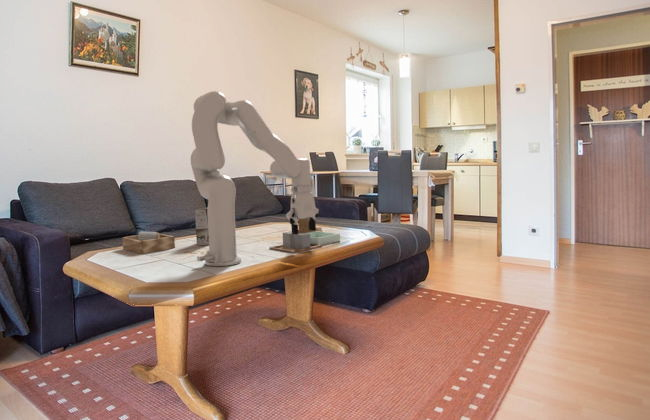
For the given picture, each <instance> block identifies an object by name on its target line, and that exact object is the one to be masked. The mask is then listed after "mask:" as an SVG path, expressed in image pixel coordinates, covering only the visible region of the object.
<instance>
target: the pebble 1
mask: <svg viewBox="0 0 650 420" xmlns="http://www.w3.org/2000/svg"><path fill="white" fill-rule="evenodd" d="M282 245H283V247H285V248H294V247H295V234H292V230H291V231H284V232H282Z"/></svg>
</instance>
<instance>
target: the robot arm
mask: <svg viewBox="0 0 650 420" xmlns="http://www.w3.org/2000/svg"><path fill="white" fill-rule="evenodd" d="M193 111H194V112H193V115H192V118H191V131H192V136H193V137H192V138H193V141H194V142H193V143H194V146H195V148H194V149H193V150H192V152H191V154H190V165H191V169H192V173H193V176H194V181H195V183H196V184H195V185H196V186H197V189H198V192H199V194H200V196H201V197H203V198H204V199H206V200H207V201H208V203H207V207H208V209H207V217H208V234H209V245H208V248H209V249H208V251H206V253H204V254H202V255H197V257H196V260H197V262H203V261H205V262H204V263H205V265H207V266H211V267H226V266H234V265H237V264H240V263H241V262H242V258H241V257H240V256H237V255H238V254H237V235H236V216H235V215H236V214H235V211H236V208H235V207H236V205H235V204H236V194H237V189H236V185H235V182H234V181H233V180H232V178H230V177H229V176H228V175H224V174H220V173H221V172H220V170H222V168H223V167H225V164H226V158H225V153H224V150H223V146H222V143H221V139H220V138H221V137H220V135H219V129H218V125H219V124H222V125H227V126H234V127H236V126H237V127H238V126H239V128H240V130H241V131H242V132H243V134H244V135H245V136H246V137H247V139H248V140H249V142H250V143H251V144H252V146H253V147H254V148H256V149H258V150H260V151H261V152H264V153H266V154H267V155H269V156H270V157H271V158H272V159H273V160H274V161H272V162H271V164H270V166H269V171H270V173H271V175H272V176H273V177H274V178H276V179H288V180H289V179H291V188H290V191H291V193H292V194H291V196H290V210H289V211H288V212H286V214H285V217H286V218H287V221H288V223H289V225H291V232H292V234H296V235H297V234H298V230H299V226H298V223H297V222H298V220H299V219H305V218H309V219H310V220H309V230H313V231H315V230H316V227H317V226H316V227H315V221H316V222H317V219H318V218H317V217H318V216H319V215H318V214H319V208H318V207H317V206H316V201H315V196H314V193H313V192H312V184H311V183H312V182H311V179H312V178H311V165H310V164H311V163H310V160H309V159H308V158H297V157H296V154H294V152H293V151H292V150H291V149H290V147H289V146H288V145H287V144H286V143H285V142H284V141H282V140H281V138H279V137H278V136H277V135H276V134H274V133H273V132H272V131H271V129H270V128H269V127H268V125H267V123H266V122H265V121H264V119H263V118H262V116H261V115H260V113H259V112H258V111H257V109H256V108H255V106H254V105H253V103H252V102H250V101H248V100H244V99H241V100H238V101H237V100H236V101H235V102H230V101H227V98H226V97H225V95H224V94H223V93H222V92H220V91H216V90H215V91H209V92H207V93H205V94H203V95H200V96H199V97H197V98H196V100H195V101H194V103H193ZM316 218H317V219H316Z"/></svg>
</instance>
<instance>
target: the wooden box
mask: <svg viewBox="0 0 650 420" xmlns="http://www.w3.org/2000/svg"><path fill="white" fill-rule="evenodd" d="M158 233H159V232H158ZM159 234H160V238H158V239H151V240H144V241H139V240H138V234H137V235H130V236H124V237H122V239H121V240H122V249H123V250H125V251H129V252H133V253H136V254H141V255H142V254H147V253H154V252H160V251H165V250H171V249H176V243H175V242H176V241H175V236H174V235H169V234H166V233H165V234H164V233H159Z"/></svg>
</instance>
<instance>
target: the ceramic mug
mask: <svg viewBox="0 0 650 420" xmlns="http://www.w3.org/2000/svg"><path fill="white" fill-rule="evenodd" d="M160 234H161V233H160ZM160 234H159V232H157V231H139V232H138V234H137V235H138V240H139V241H144V240H151V239H158V238H160Z"/></svg>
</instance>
